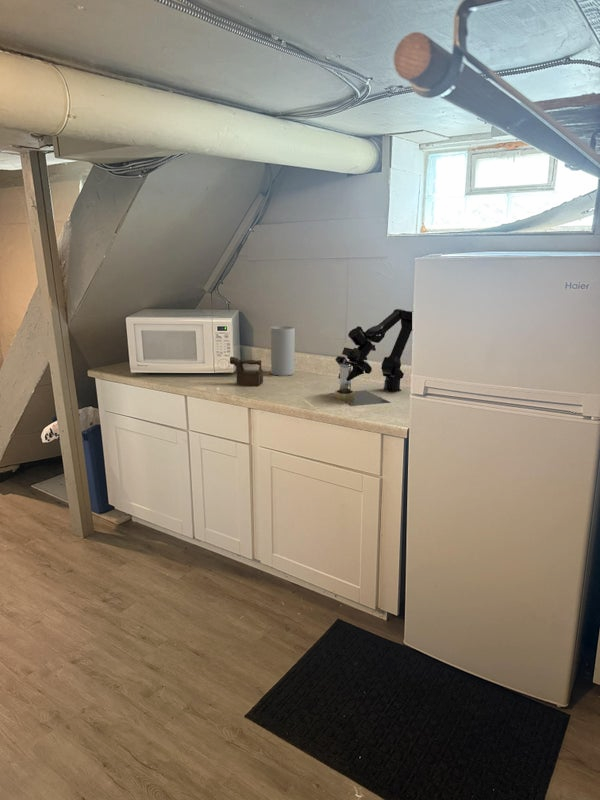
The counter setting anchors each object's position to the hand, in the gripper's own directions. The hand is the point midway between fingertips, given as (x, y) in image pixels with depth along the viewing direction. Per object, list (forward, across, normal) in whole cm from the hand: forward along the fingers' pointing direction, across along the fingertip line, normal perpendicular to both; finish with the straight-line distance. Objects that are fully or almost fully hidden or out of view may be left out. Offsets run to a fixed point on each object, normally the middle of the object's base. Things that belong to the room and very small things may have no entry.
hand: (343, 379), depth 244 cm
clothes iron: (+18, -51, -6) cm, 55 cm away
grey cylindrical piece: (+4, 0, +5) cm, 6 cm away
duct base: (+2, +5, +10) cm, 12 cm away
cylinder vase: (-2, -61, +15) cm, 63 cm away
